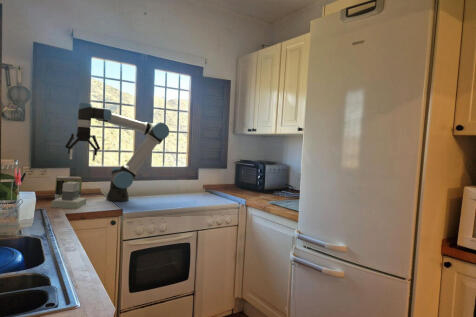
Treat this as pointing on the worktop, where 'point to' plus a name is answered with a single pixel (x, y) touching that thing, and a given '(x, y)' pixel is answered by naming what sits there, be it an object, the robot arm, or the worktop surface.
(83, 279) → the worktop surface
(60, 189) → the tea box
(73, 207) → the stand
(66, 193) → the block
